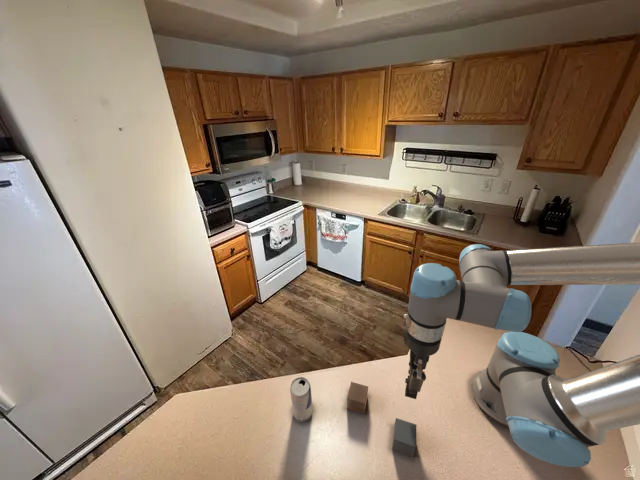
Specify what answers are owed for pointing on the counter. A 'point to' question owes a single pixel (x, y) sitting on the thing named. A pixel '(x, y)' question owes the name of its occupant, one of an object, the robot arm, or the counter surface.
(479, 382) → the robot arm
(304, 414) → the energy drink
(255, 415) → the counter surface
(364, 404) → the walnut block
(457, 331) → the counter surface
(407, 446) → the grey block
